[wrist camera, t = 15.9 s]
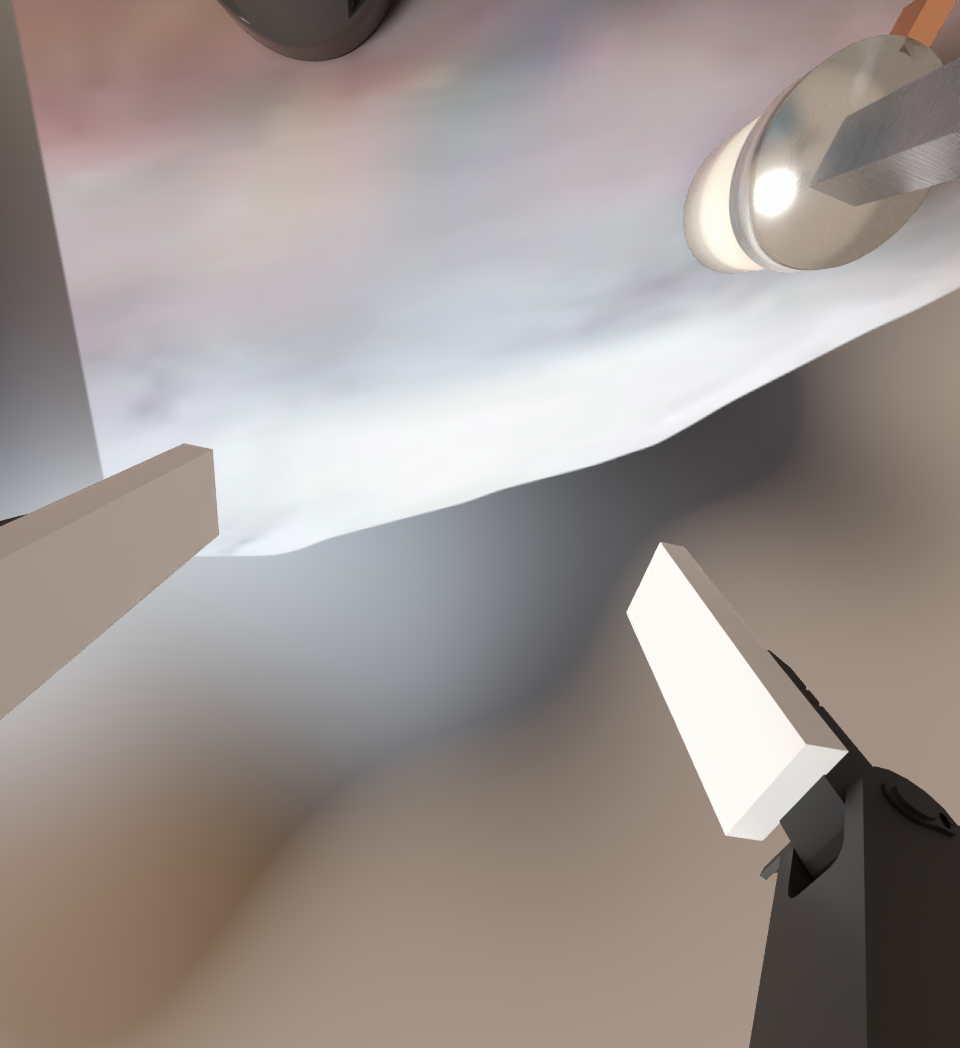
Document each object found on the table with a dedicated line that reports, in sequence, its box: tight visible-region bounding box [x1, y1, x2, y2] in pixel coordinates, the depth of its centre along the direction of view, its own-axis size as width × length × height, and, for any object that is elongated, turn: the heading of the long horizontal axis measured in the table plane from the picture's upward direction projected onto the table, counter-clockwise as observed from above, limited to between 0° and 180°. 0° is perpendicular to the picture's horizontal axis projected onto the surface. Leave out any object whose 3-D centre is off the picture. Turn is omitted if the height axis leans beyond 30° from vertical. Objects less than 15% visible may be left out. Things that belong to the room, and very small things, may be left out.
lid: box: [729, 0, 960, 272], centre depth 20 cm, size 12×10×14 cm
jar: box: [684, 115, 765, 274], centre depth 31 cm, size 10×10×8 cm
